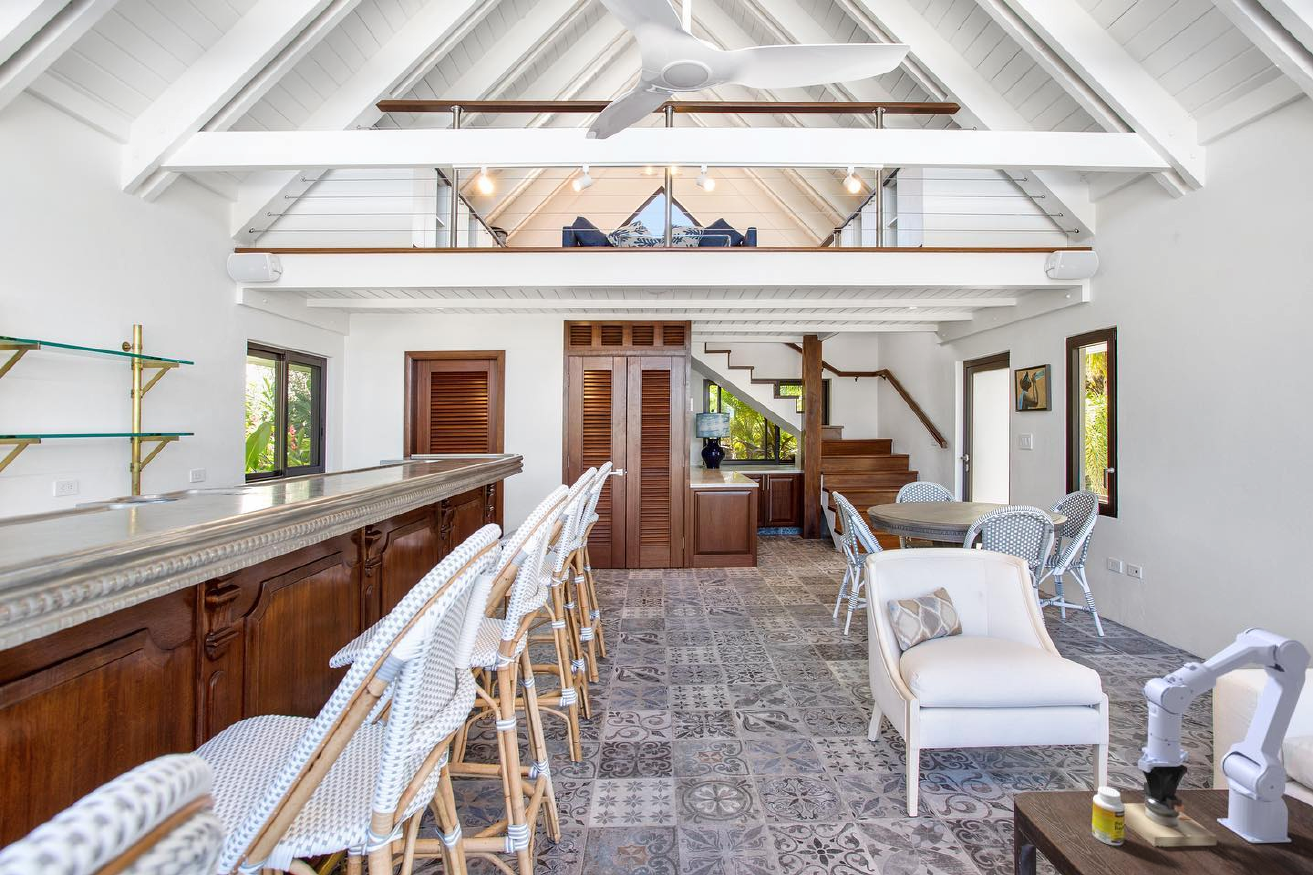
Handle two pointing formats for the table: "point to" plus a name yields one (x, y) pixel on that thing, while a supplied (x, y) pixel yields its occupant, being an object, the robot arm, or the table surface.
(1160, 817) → the cream base plate
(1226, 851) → the table surface
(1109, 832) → the supplement bottle
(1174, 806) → the rotary knob
